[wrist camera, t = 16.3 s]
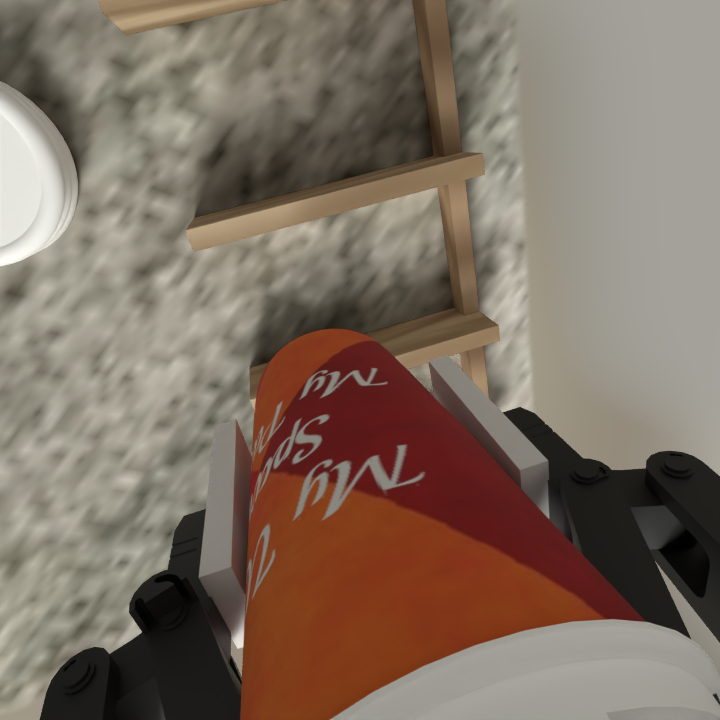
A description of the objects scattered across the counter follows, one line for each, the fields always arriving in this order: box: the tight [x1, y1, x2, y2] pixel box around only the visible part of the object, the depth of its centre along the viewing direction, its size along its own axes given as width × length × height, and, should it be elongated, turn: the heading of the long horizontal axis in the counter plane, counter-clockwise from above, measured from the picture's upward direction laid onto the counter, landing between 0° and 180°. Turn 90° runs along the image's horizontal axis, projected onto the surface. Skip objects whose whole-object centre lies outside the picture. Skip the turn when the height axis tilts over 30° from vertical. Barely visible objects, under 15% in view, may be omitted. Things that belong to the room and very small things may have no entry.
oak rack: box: [98, 0, 500, 411], centre depth 32 cm, size 35×18×5 cm, turn 12°
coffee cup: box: [240, 329, 720, 720], centre depth 13 cm, size 8×8×15 cm
